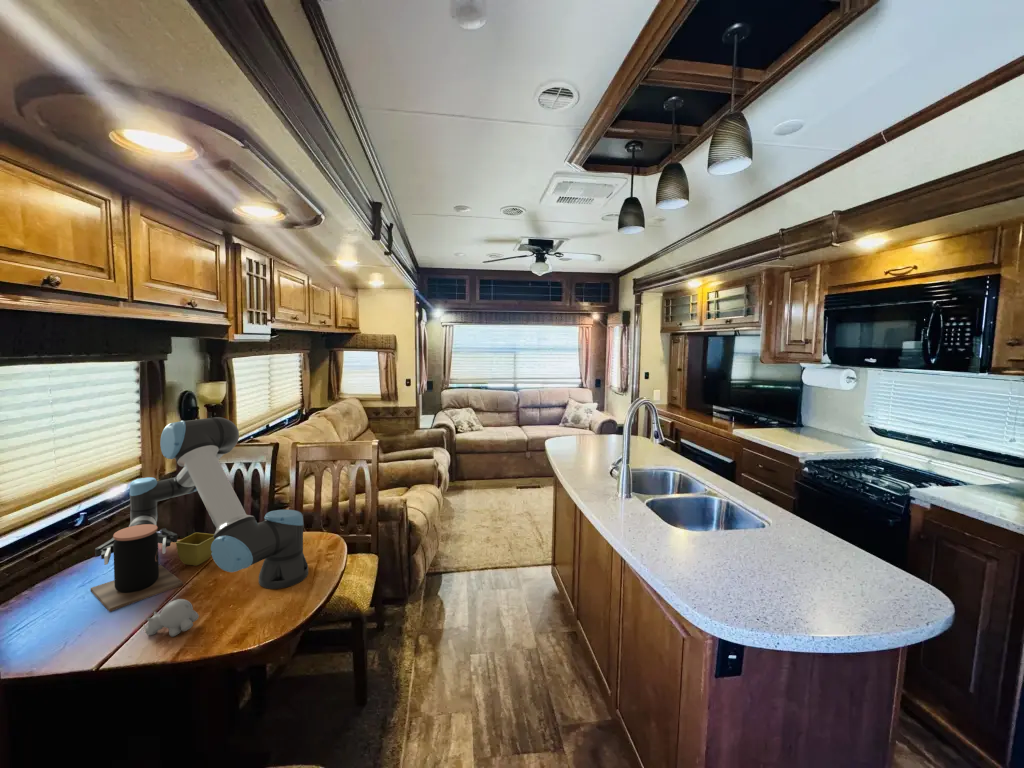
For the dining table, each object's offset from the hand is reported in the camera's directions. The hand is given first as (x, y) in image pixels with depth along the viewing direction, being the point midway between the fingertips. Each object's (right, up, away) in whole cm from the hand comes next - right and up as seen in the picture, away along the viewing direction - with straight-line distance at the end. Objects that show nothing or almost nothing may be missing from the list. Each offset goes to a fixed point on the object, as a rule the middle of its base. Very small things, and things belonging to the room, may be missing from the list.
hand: (135, 554), depth 132 cm
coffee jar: (-3, -11, +4) cm, 12 cm away
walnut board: (-3, -12, +4) cm, 13 cm away
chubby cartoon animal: (+24, -15, -16) cm, 32 cm away
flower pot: (+4, -11, +21) cm, 24 cm away
